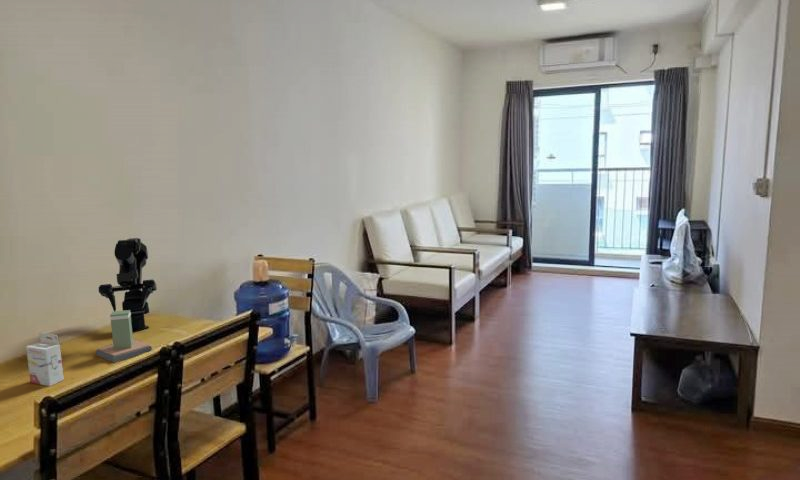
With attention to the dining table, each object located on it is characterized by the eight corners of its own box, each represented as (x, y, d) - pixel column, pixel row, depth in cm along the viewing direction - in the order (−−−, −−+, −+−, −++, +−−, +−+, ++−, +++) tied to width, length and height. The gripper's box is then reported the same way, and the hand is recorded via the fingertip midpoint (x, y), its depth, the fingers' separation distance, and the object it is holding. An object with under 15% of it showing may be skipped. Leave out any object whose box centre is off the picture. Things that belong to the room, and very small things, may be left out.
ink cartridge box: (29, 383, 161) (23, 337, 158) (44, 376, 165) (39, 331, 163) (49, 386, 158) (43, 339, 156) (64, 380, 162) (59, 334, 160)
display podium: (96, 354, 184) (95, 348, 183) (133, 344, 194) (132, 338, 194) (114, 362, 176) (113, 356, 176) (151, 351, 186) (151, 345, 186)
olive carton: (113, 349, 182) (110, 315, 180) (116, 345, 186) (112, 311, 184) (131, 347, 183) (128, 313, 182) (133, 343, 188) (130, 309, 186)
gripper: (94, 265, 189) (94, 306, 183) (151, 259, 195) (152, 299, 189) (102, 276, 199) (102, 315, 193) (156, 270, 204) (157, 308, 199)
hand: (128, 309), depth 193 cm, fingers open, 9 cm apart
